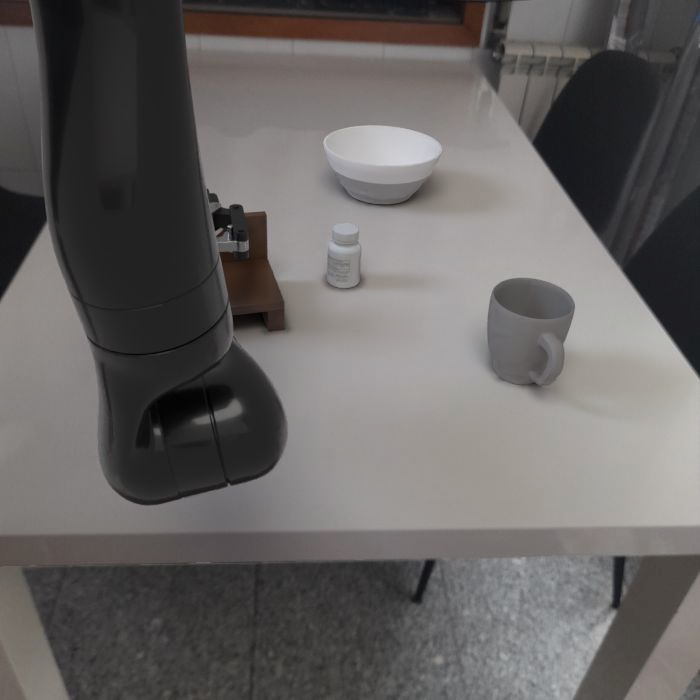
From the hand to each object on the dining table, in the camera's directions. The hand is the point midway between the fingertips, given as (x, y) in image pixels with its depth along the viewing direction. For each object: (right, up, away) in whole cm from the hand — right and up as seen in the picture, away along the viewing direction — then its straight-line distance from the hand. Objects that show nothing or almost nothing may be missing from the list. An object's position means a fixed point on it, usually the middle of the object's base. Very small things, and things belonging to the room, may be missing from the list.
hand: (157, 200), depth 66 cm
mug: (+37, -17, +14) cm, 43 cm away
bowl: (+23, +13, +55) cm, 61 cm away
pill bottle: (+17, -5, +30) cm, 35 cm away
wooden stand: (-1, -9, +22) cm, 24 cm away
